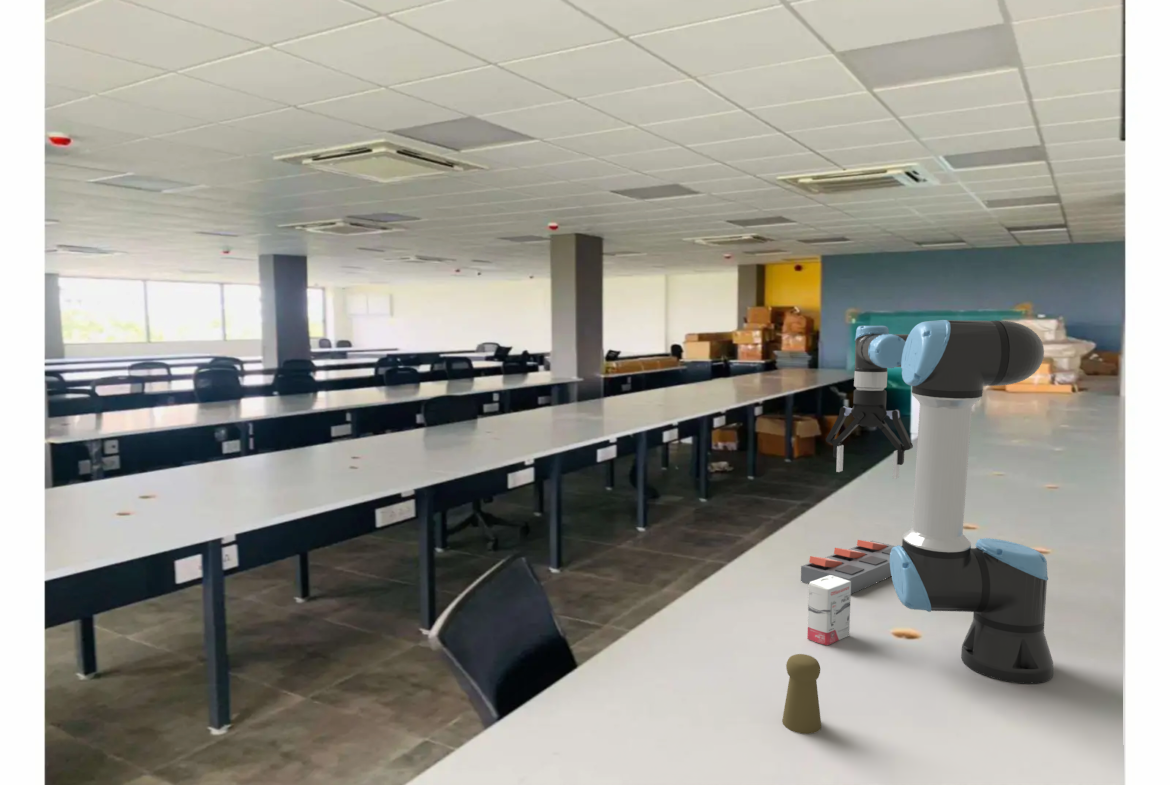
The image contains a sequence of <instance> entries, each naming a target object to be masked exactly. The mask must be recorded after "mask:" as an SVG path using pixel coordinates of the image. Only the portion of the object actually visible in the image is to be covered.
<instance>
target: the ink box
mask: <svg viewBox="0 0 1170 785" xmlns="http://www.w3.org/2000/svg"><path fill="white" fill-rule="evenodd" d="M807 593H808V595H807V596H808V597H807V598H808V599H807V602H808V603H807V640H810V641H811V642H815V643H818V644H820V645H825V646H830V645H832V644H835V642H839V641H840V640H842V639H845V638H847V637H849V636H850V628H851V627H850V626H851V624H850V622H851V620H850V618H851V598H852V597H851V595H852V594H851V581H848V580H845V579H842V578H839V577H836V576H833V575H828V576H825V577H823V578H820V579H817V580H814V581H811V582H810V583H809V584H808V589H807Z"/></svg>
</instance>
